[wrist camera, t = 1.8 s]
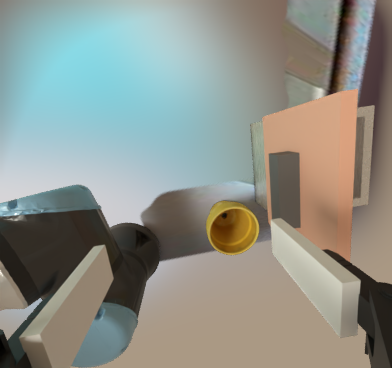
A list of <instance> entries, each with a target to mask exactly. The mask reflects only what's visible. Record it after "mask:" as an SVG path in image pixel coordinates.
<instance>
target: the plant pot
mask: <svg viewBox="0 0 392 368" xmlns="http://www.w3.org/2000/svg"><path fill="white" fill-rule="evenodd" d="M223 213H226V214H227V216H226V217H225V218H223V217H222V214H223ZM206 231H207V236H208V239H209V241H210V243H211V245H212V246H213V248H214V249H216V250H217V251H218V252H220V253H223V254H226V255H236V254H240V253H243V252H245V251H247V250H248V249H249V248H251V247H252V246H253V244H254V243H255V242H256V240H257V238H258V234H259V223H258V220H257V218H256V216H255V215H254V214H253V212H252V211H251V210H249V209H248V208H247V207H246V206H244V205H243V204H241V203H237V202H229V201H220V202H217V203H216V204H214V205H213V207H212V208H211V210H210V214H209V216H208V219H207V222H206Z"/></svg>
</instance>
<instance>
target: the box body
mask: <svg viewBox="0 0 392 368" xmlns="http://www.w3.org/2000/svg"><path fill="white" fill-rule="evenodd" d="M373 121H374V106H366V107H359V108H357V120H356V142H355V164H354V186H353V207H356V206H362V205H368V199H369V184H370V169H371V154H372V138H373ZM250 126H251V142H252V156H253V170H254V186H255V201H256V202H257V203H258V204H260V205H261V206H262V207H263V208H264V209H266V210H267V211H268V207H267V189H266V171H265V152H264V134H263V121H262V122H257V123H254V124H251V125H250Z"/></svg>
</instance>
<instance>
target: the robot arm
mask: <svg viewBox="0 0 392 368" xmlns="http://www.w3.org/2000/svg"><path fill="white" fill-rule="evenodd" d="M271 238H272V254H273V255H274V256H275V257H276V259H277V260H278V261H279V262H280V263H281V265H282V266H283V267H284V269H285V270H286V271H287V272H288V274H289V275H290V276H291V277H292V279H293V280H294V281H295V282H296V284H297V285H298V286H299V287H300V289H301V290H302V291H303V292H304V293H305V295H306V296H307V297H308V299H309V300H310V301H311V302H312V304H313V305H314V306H315V307H316V308H317V310H318V311H319V312H320V313H321V315H322V316H323V317H324V318H325V320H326V321H327V322H328V323H329V325H330V326H331V327H332V328H333V330H334V331H335V332H336V333H337V335H338V336H339V337H340V338H343V337H349V336H354V335H357V329H358V324H359V325H360V326H361V327H362V328H363V329H364V330H365V331H366V343H365V354H367V355H368V353H369V359H370V364H371V368H392V284H388V283H381V282H376V281H375V280H374V279H372V278H371V277H370V276H368V275H367V274H365V273H364V272H363V271H361V270H360V269H358V268H357V267H356V266H354V265H352V263H350V262H349V261H347V260H346V259H345V258H343V257H342V256H341V255H339V254H338V253H335V252H333V251H331V250H328V249H324V250H321V249H320V248H319V247H317V246H316V245H315V244H313V243H312V242H311V241H310V240H308V239H307V238H306V237H304V236H303V235H302V234H301V233H299V232H298V231H297V230H296V229H294V228H293V227H292V226H290V225H289V224H288V223H287V222H285V221H284V220H283V219H281V218H278V219H272V220H271ZM160 254H161V250H160V245H159V242H158V240H157V238H156V236H155V235H154V234H153V233H152V232H151V231H150V230H149V229H147V228H146V227H144V226H141V225H138V224H135V223H121V224H117V225H115V226H112V227H111V228H110V227H109V225H108V224H107V221H106V219H105V217H104V215H103V213H102V211H101V206H100V205H98V204H97V202H96V200H95V198H94V196H93V195H92V193H91V191H90V190H89V189H88V188H87V187H85V186H82V185H72V186H68V187H63V188H59V189H55V190H51V191H46V192H42V193H38V194H35V195H31V196H27V197H23V198H19V199H15V200H12V201H8V202H4V203H0V311H1V310H4V309H25V308H27V307H28V306H29V305H31V304H32V303H33V302H35V301H36V300H38V299H39V298H41V299H42V300H43V301H42V302H41V303H40V304H39V305H38V306H37V307H36V308H35V309H34V311H33V312H32V313H31V314H30V315H29V316H28V318H27V320H25V321H24V322H23V323H22V324H21V326H20V327H19V328H18V329H17V330H16V331H15V333H14V334H13V335H12V336H11V337H10V338H9V339H8V341H7V339H6V337H5V334H4V332H3V330H1V329H0V368H70V367H71V366H75V367H84V368H85V367H86V368H87V367H95V366H99V365H103V364H106V363H108V362H111V361H113V360H114V359H116V358H117V357H119V356H120V355H121V354H122V353H123V352H124V351H125V350H126V348H127V347H128V345H129V343H130V341H131V339H132V336H133V333H134V330H135V328H136V326H137V323H138V320H137V319H138V315H139V310H140V306H141V302H142V298H143V294H144V290H145V286H146V282H147V280H148V279H149V278H150V276H151V275H152V274H153V273H154V272H155V270H156V269H157V266H158V264H159V260H160Z"/></svg>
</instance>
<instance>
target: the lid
mask: <svg viewBox="0 0 392 368" xmlns="http://www.w3.org/2000/svg"><path fill="white" fill-rule="evenodd" d="M357 98H358V89H355V90H348V91H341V92H338V93H335V94H332V95H329V96H326V97H323V98H319V99H316V100H313V101H310V102H307V103H304V104H301V105H298V106H295V107H292V108H289V109H286V110H283V111H280V112H277V113H274V114H271V115H268V116H265V117H263V134H264V152H265V171H266V189H267V207H268V223H269V224H270V226H271V220H272V219H278V218H281V219H283V220H284V221H285V222H287V223H288V224H289V225H290V226H292V227H293V228H294V229H296V230H297V231H298V232H299V233H301V234H302V235H303V236H304V237H306V238H307V239H308V240H310V241H311V242H312V243H313V244H315V245H316V246H317V247H319V248H320V249H321V250H324V249H328V250H331V251H333V252H335V253H338V254H339V255H341V256H342V257H343V258H345V259H346V260H347V261H349V262H350V252H351V230H352V208H353V186H354V164H355V142H356V120H357Z"/></svg>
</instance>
